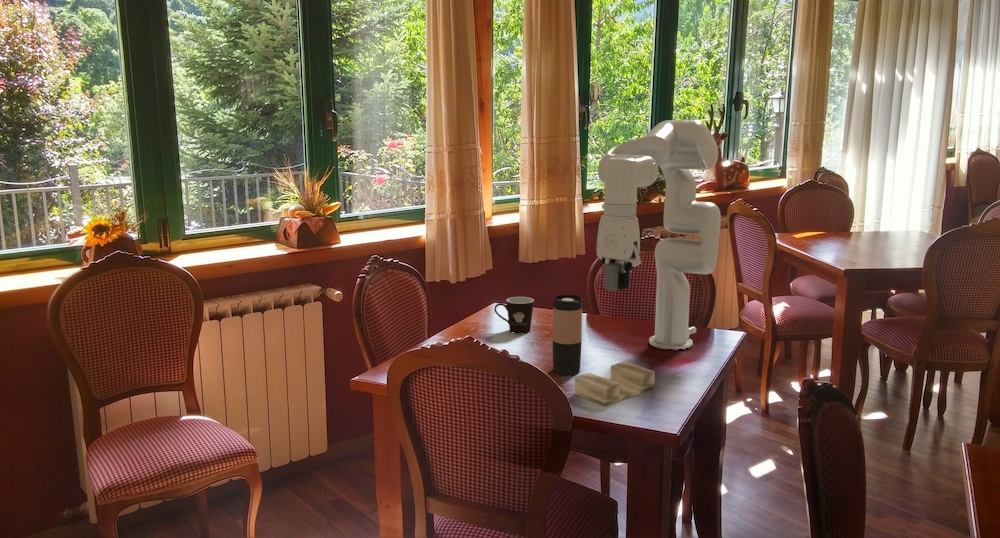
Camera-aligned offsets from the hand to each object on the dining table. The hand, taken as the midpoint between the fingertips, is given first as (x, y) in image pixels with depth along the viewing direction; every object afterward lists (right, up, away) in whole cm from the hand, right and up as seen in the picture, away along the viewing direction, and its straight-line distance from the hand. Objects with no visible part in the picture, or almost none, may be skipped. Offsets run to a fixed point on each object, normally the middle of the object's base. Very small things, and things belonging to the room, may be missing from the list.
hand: (617, 286), depth 181 cm
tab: (0, 0, 0) cm, 0 cm away
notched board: (0, -26, +6) cm, 27 cm away
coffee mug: (-23, -15, +57) cm, 63 cm away
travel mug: (-11, -23, +20) cm, 32 cm away
